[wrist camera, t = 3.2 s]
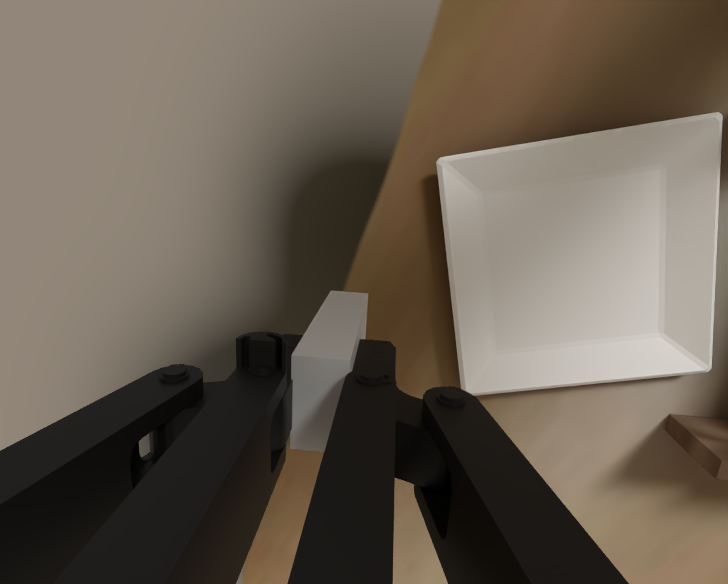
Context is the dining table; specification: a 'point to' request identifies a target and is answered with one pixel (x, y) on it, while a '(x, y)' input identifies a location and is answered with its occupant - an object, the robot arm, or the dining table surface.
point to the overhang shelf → (703, 441)
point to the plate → (584, 256)
